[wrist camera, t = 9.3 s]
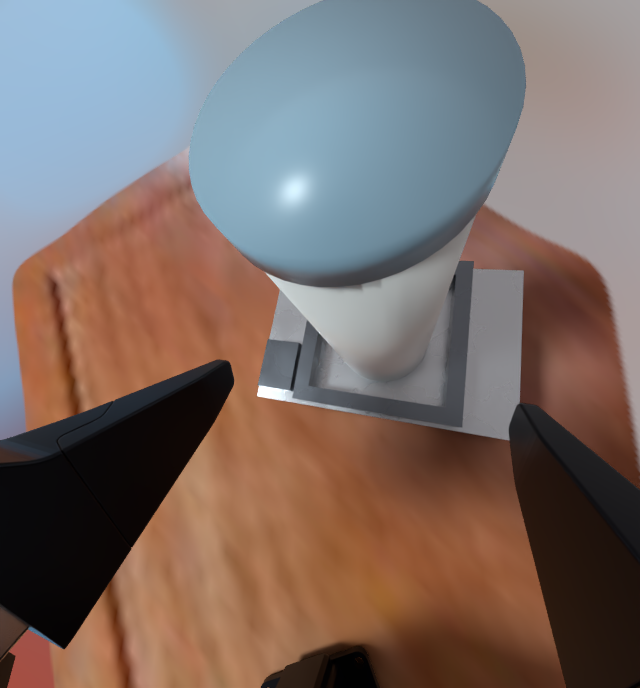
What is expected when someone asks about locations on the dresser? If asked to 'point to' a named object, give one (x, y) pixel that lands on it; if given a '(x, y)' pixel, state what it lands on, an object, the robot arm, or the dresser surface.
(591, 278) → the dresser surface
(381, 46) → the lidded container
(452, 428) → the digital kitchen scale
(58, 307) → the dresser surface
